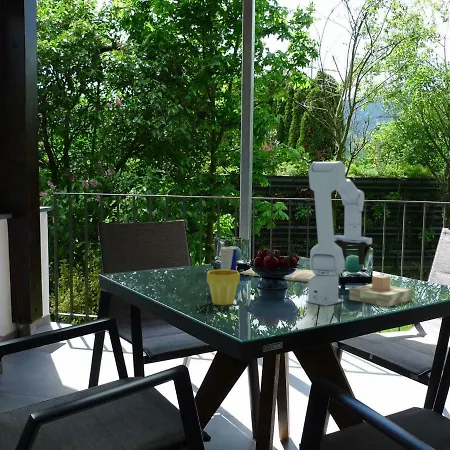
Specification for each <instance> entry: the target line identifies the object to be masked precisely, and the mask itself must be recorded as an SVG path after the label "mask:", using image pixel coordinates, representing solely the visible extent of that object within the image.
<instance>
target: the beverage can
mask: <svg viewBox="0 0 450 450" xmlns="http://www.w3.org/2000/svg"><path fill="white" fill-rule="evenodd" d="M237 252H238V251H237V247H234V246H222V247H220V270H234V271H237V267H238V266H237V265H238V264H237V263H238V262H237V260H238V259H237Z"/></svg>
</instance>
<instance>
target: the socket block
mask: <svg viewBox="0 0 450 450" xmlns="http://www.w3.org/2000/svg"><path fill="white" fill-rule="evenodd" d="M348 295H349V299H348V300H350V301H356V302H361V303H366V304H371V305H377V306H381V307H382V306H383V307H387V308H388V307H391V306H392V307H393V306H395V305H400V304H403V303H407V302H409V301H412V300H413V289H412V288H407V287H406V288H405V287H400V286H393V285H390V290H388V291H384V292H383V291H377V290H372V283H368V284H364V285H360V286H356V287H352V288H349V294H348Z"/></svg>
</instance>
